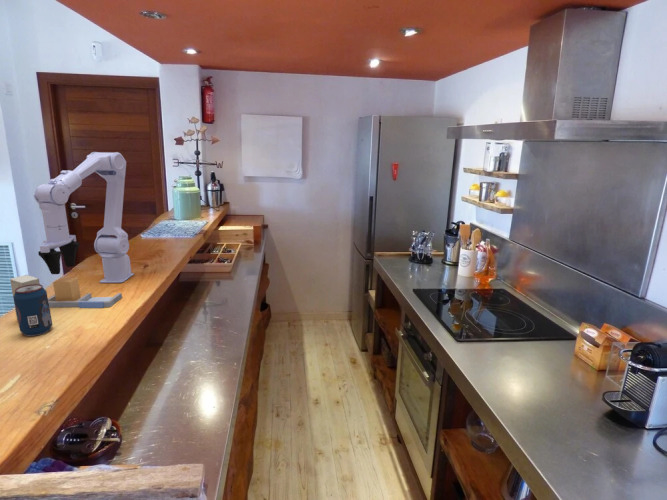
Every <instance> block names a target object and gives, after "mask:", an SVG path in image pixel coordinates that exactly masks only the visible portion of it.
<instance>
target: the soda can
mask: <svg viewBox="0 0 667 500" xmlns="http://www.w3.org/2000/svg"><path fill="white" fill-rule="evenodd" d="M12 298H13V299H12V300H13V303H14V304H15V305H14V309H16V311H15V314H17V316H16V319H17V318H18V320H17V322H18V327H19V331H20V333H22V334H23V335H24V336H26V337H35V336H40V335H44V334H46V333H48V332H49V331H50V330H51V328H52V326H53V319H52V316H51V315H52V314H51V310H50V308H51V307H49V303H48V298H49V297H48V292H47V290H46V289H45V288H44V286H43V285H42V284H31V285H25V286H21V287H19V288H16V289H15V294H14V296H13V295H12Z"/></svg>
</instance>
